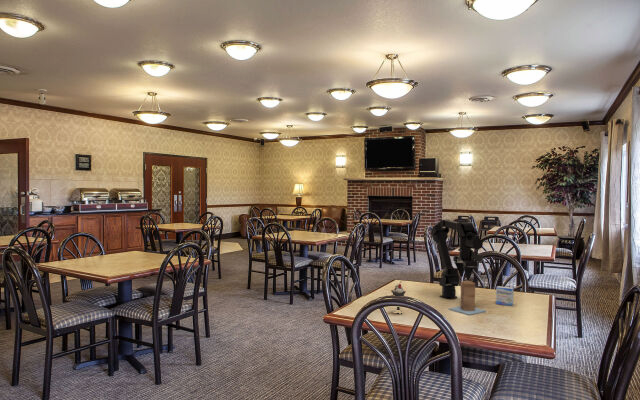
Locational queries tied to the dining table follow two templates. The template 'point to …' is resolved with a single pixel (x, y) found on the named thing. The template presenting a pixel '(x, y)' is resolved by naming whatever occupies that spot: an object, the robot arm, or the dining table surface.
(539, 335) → the dining table surface
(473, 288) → the walnut block
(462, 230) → the robot arm
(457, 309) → the slate mat
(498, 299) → the medicine box
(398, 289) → the sundae
